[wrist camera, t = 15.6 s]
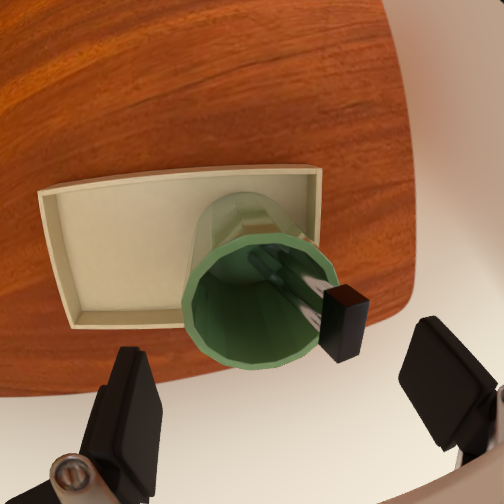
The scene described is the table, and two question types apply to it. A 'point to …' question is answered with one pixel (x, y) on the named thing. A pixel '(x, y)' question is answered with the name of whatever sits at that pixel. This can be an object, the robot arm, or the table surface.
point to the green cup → (249, 284)
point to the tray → (151, 235)
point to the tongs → (333, 307)
